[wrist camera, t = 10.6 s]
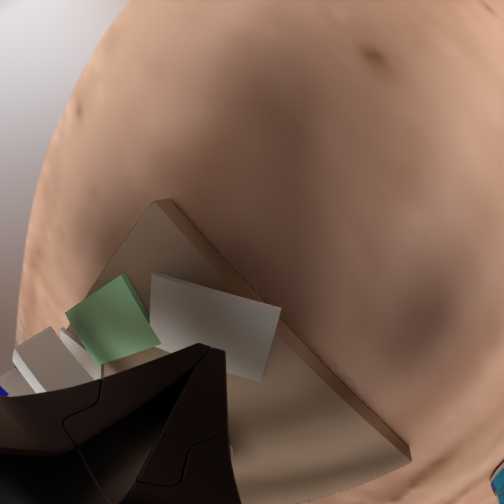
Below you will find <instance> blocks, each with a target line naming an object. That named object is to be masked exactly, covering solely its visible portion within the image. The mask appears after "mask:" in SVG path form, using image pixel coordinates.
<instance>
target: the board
mask: <svg viewBox="0 0 504 504" xmlns="http://www.w3.org/2000/svg"><path fill="white" fill-rule="evenodd" d="M280 312H281V307H277V306H273V305H269V304H266V303H265V302H264V301H263V300H262V299H261V298H260V297H259V296H258V295H257V294H256V292H255V291H254V290H253V289H252V288H251V287H250V286H249V285H248V284H247V283H246V282H245V281H244V280H243V279H242V277H241V276H240V275H239V274H238V273H237V272H236V271H235V270H234V269H233V268H232V267H231V266H230V265H229V263H228V262H227V261H226V260H225V259H224V258H223V257H222V256H221V255H220V254H219V253H218V251H217V250H216V249H215V248H214V247H213V246H212V245H211V244H210V243H209V242H208V241H207V239H206V238H205V237H204V236H203V235H202V234H201V233H200V232H199V231H198V229H197V228H196V227H195V226H194V225H193V224H192V223H191V222H190V221H189V219H188V218H187V217H186V216H185V215H184V214H183V213H182V212H181V211H180V209H179V208H178V207H177V206H176V205H175V204H174V203H173V202H172V200H171V199H164V200H156V201H154V202H153V203H152V204H151V205H150V207H149V208H148V209H147V210H146V212H145V213H144V214H143V216H142V217H141V218H140V219H139V221H138V222H137V223H136V225H135V226H134V227H133V229H132V230H131V231H130V233H129V234H128V235H127V237H126V238H125V240H124V241H123V242H122V244H121V245H120V247H119V248H118V249H117V251H116V252H115V254H114V255H113V257H112V258H111V259H110V261H109V262H108V264H107V265H106V267H105V268H104V270H103V271H102V273H101V274H100V276H99V277H98V279H97V280H96V282H95V283H94V285H93V287H92V288H91V290H90V291H89V293H88V295H87V296H86V298H85V299H84V300H83V301H81V302H80V303H78V304H77V305H75V306H74V307H73V308H71V309H70V310H68V311H67V312H65V314H66V316H67V318H68V320H69V322H70V325H69V327H68V328H67V330H66V329H65V328H64V327H63V328H61V329H60V339H61V341H62V342H63V343H64V345H65V346H66V347H67V348H68V350H69V351H70V352H71V353H72V355H73V356H74V357H75V358H76V360H77V361H78V362H79V363H80V364H81V365H82V367H83V368H84V369H85V370H86V371H87V372H88V374H89V375H90V376H91V377H92V378H93V379H94V380H97V379H102V378H103V377H106V376H109V375H112V374H115V373H118V372H121V371H124V370H127V369H130V368H132V367H135V366H138V365H141V364H143V363H146V362H149V361H152V360H154V359H157V358H160V357H162V356H165V355H168V354H170V353H173V352H175V351H178V350H181V349H183V348H186V347H188V346H191V345H193V344H196V343H202V344H205V345H208V346H211V348H213V347H214V348H218V349H221V350H224V351H225V352H226V371H227V399H228V422H229V440H230V444H231V446H232V448H233V451H234V455H233V458H232V466H233V471H234V476H235V480H236V484H237V488H238V491H239V495H240V499H241V502H242V504H299V503H303V502H307V501H311V500H315V499H318V498H322V497H326V496H329V495H332V494H335V493H338V492H342V491H345V490H347V489H350V488H353V487H356V486H359V485H361V484H364V483H366V482H369V481H371V480H374V479H376V478H379V477H381V476H383V475H386V474H388V473H390V472H392V471H394V470H396V469H399V468H401V467H403V466H405V465H407V464H409V463H411V462H412V458H411V453H410V449H409V446H408V445H407V444H406V443H404V442H403V441H402V440H401V439H400V438H399V437H398V436H397V435H396V434H395V433H394V432H393V431H392V430H391V429H390V428H389V427H388V426H387V425H386V424H385V423H383V422H382V421H381V420H380V419H379V418H378V417H377V416H376V415H375V414H374V413H373V412H372V411H371V410H370V409H369V408H368V407H367V406H366V405H365V404H364V403H363V402H362V401H361V400H360V399H359V398H358V397H357V396H356V395H355V394H354V393H353V392H352V391H351V390H350V389H349V388H348V387H347V386H346V385H345V384H344V383H343V382H342V381H341V380H340V379H339V378H338V377H337V376H336V375H335V374H334V373H333V372H332V371H331V370H330V369H329V368H328V367H327V366H326V365H325V364H324V363H323V362H322V361H321V360H320V359H319V358H318V357H317V356H316V355H315V354H314V353H313V352H312V351H311V350H310V349H309V348H308V347H307V346H306V345H305V344H304V343H303V342H302V341H301V340H300V339H299V338H298V337H297V335H296V334H295V333H294V332H293V331H292V330H291V329H290V328H289V327H288V326H287V325H286V324H285V323H284V322H283V321H282V320H281V319H280V318H279V316H280Z"/></svg>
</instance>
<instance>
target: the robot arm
mask: <svg viewBox="0 0 504 504" xmlns="http://www.w3.org/2000/svg"><path fill="white" fill-rule="evenodd" d="M0 504H242V502H241V499H240V495H239V491H238V488H237V484H236V480H235V476H234V471H233V466H232V461H231V452H230V440H229V422H228V399H227V371H226V352H225V351H224V350H221V349H218V348H214V347H213V348H211V346H208V345H205V344H202V343H196V344H193V345H191V346H188V347H186V348H183V349H181V350H178V351H175V352H173V353H170V354H168V355H165V356H162V357H160V358H157V359H154V360H152V361H149V362H146V363H143V364H141V365H138V366H135V367H132V368H130V369H127V370H124V371H121V372H118V373H115V374H112V375H109V376H106V377H103V378H102V379H97V380H94V381H90V382H87V383H84V384H80V385H76V386H73V387H68V388H64V389H59V390H54V391H48V392H42V393H35V394H29V395H21V396H11V397H9V396H0Z"/></svg>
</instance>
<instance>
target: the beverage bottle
mask: <svg viewBox="0 0 504 504" xmlns="http://www.w3.org/2000/svg"><path fill="white" fill-rule="evenodd" d="M491 487H492V490H493V492H494V493H495V496H496V499H497V502H498V504H504V462H503V463H502V464H501V465H500V466H499V467H498V469H497V470H496V471H495V473H494V474H493V476H492V478H491Z"/></svg>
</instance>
